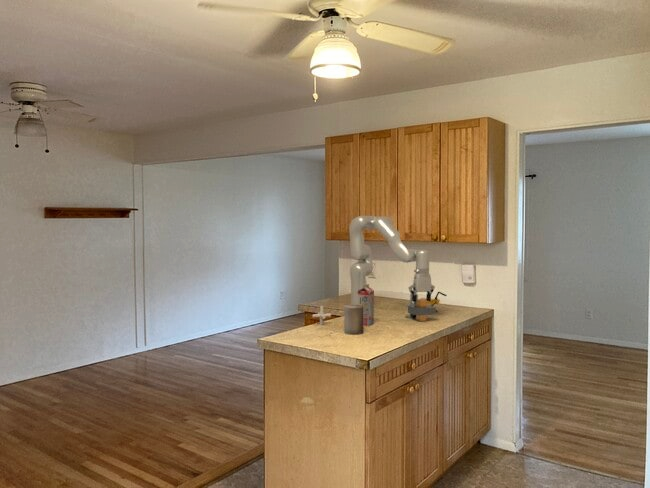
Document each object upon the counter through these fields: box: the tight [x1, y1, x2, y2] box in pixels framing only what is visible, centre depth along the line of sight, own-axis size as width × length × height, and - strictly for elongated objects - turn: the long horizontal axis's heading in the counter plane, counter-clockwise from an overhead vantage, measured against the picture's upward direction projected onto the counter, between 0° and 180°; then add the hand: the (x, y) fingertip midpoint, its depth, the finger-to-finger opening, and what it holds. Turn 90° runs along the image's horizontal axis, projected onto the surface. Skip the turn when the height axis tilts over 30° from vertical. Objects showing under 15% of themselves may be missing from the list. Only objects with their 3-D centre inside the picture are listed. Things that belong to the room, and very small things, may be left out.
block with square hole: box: [404, 293, 437, 320], centre depth 292 cm, size 12×18×14 cm, turn 24°
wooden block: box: [415, 298, 428, 322], centre depth 288 cm, size 4×4×12 cm
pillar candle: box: [343, 304, 364, 335], centre depth 255 cm, size 10×10×15 cm
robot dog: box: [420, 291, 447, 313], centre depth 315 cm, size 6×18×13 cm, turn 61°
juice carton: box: [358, 283, 375, 327], centre depth 274 cm, size 7×7×22 cm
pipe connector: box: [311, 305, 332, 326], centre depth 274 cm, size 10×10×10 cm
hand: (421, 301), depth 288 cm, fingers open, 9 cm apart
